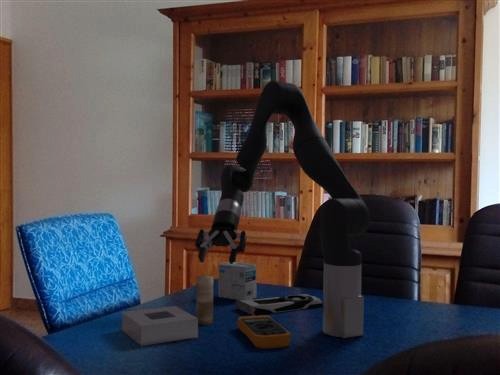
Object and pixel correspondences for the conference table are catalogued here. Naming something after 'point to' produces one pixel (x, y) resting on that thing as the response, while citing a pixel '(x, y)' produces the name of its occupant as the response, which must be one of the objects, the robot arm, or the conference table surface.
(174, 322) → the grey square socket block
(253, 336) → the multimeter
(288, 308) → the graphics card
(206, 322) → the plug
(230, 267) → the light bulb box
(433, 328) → the conference table surface
